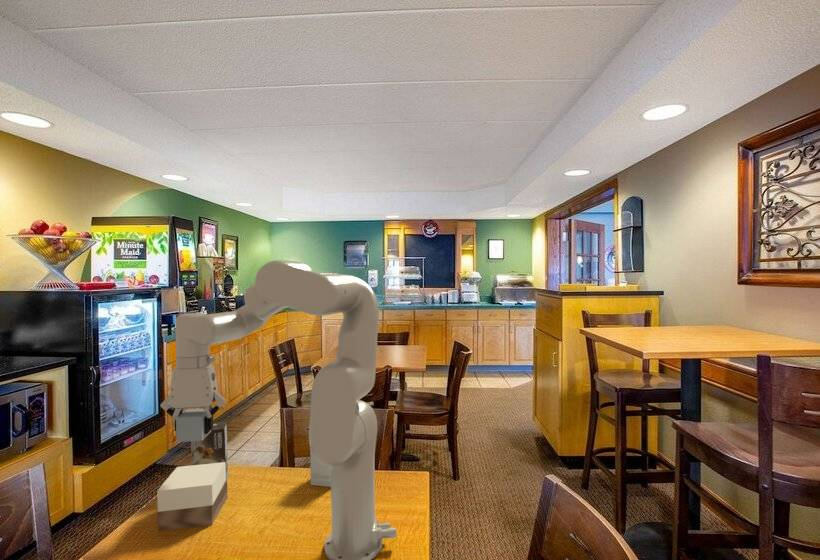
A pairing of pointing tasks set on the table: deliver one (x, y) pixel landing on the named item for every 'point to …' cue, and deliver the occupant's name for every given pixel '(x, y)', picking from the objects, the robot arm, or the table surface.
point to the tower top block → (192, 486)
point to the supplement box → (319, 472)
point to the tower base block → (192, 514)
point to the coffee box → (212, 447)
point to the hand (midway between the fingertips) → (194, 432)
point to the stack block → (190, 426)
